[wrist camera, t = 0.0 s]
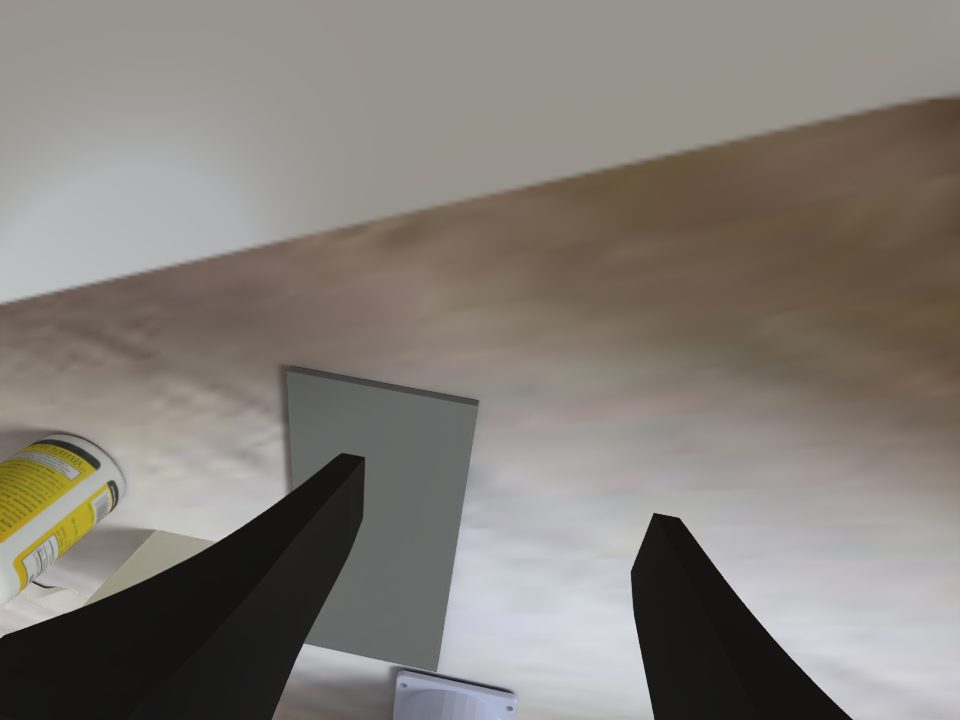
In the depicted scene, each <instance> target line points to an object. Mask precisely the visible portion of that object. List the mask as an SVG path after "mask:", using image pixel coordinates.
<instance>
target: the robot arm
mask: <svg viewBox="0 0 960 720" xmlns="http://www.w3.org/2000/svg"><path fill="white" fill-rule="evenodd" d="M364 482H365V457H362V456H357V455H352V454H347V453H341V454H339V455H338V456H336V457H335V458H334V459H333V460H331V461H330V462H329V463H328V464H326V465H325V466H324V467H323V468H321V469H320V470H319V471H318V472H316V473H315V474H314V475H313V476H311V477H310V478H309V479H308V480H306V481H305V482H304V483H303V484H301V485H300V486H299V487H297V488H296V489H295V490H293V491H292V492H291V493H289V494H288V495H287V496H285V497H284V498H283V499H281V500H280V501H279V502H277V503H276V504H275V505H273V506H272V507H270V508H269V509H268V510H266V511H265V512H263V513H262V514H260V515H259V516H257V517H256V518H254V519H253V520H251V521H250V522H248V523H247V524H246V525H244V526H243V527H241V528H240V529H238V530H236V531H235V532H233V533H232V534H230V535H228V536H227V537H225V538H223V539H222V540H220V541H219V542H217V543H215V544H213V545H212V546H210V547H208V548H206V549H205V550H203V551H201V552H200V553H198V554H196V555H194V556H192V557H190V558H188V559H186V560H184V561H182V562H180V563H178V564H177V565H175V566H173V567H171V568H169V569H167V570H165V571H163V572H161V573H159V574H157V575H155V576H153V577H151V578H149V579H146V580H144V581H142V582H140V583H138V584H135V585H133V586H131V587H129V588H127V589H124V590H122V591H120V592H118V593H115V594H113V595H110V596H108V597H106V598H103V599H101V600H98V601H96V602H94V603H91V604H89V605H86V606H84V607H81V608H79V609H76V610H73V611H71V612H68V613H65V614H63V615H60V616H57V617H54V618H52V619H49V620H46V621H43V622H41V623H38V624H35V625H32V626H29V627H27V628H24V629H21V630H18V631H15V632H12V633H9V634H7V635H4V636H3V637H2V638H0V720H272V717H273V715H274V712H275V709H276V707H277V704H278V702H279V700H280V697H281V695H282V692H283V690H284V687H285V685H286V683H287V680H288V678H289V675H290V673H291V670H292V668H293V666H294V663H295V661H296V658H297V656H298V654H299V652H300V650H301V648H302V646H303V644H304V642H305V639H306V638H307V636H308V634H309V632H310V630H311V628H312V626H313V624H314V622H315V620H316V618H317V616H318V615H319V613H320V611H321V609H322V607H323V605H324V603H325V601H326V599H327V597H328V595H329V593H330V592H331V590H332V588H333V586H334V584H335V582H336V580H337V578H338V576H339V574H340V572H341V570H342V568H343V566H344V564H345V562H346V560H347V558H348V556H349V554H350V552H351V549H352V547H353V544H354V541H355V539H356V536H357V533H358V531H359V528H360V525H361V523H362V520H363V509H364ZM631 583H632V598H633V610H634V617H635V623H636V628H637V633H638V639H639V644H640V649H641V654H642V659H643V664H644V669H645V674H646V679H647V684H648V689H649V694H650V699H651V704H652V709H653V714H654V720H853V719H852V718H850V717H849V716H848V715H847V714H846V713H845V712H844V711H843V710H842V709H841V708H840V707H839V706H838V705H837V704H836V703H835V702H833V701H832V700H831V699H830V698H829V697H828V696H827V695H826V694H825V693H824V692H823V691H822V690H821V689H820V688H819V687H818V686H817V685H816V684H815V683H814V682H813V681H812V679H811V678H810V677H809V676H808V675H807V674H806V673H805V672H804V671H803V670H802V669H801V668H800V667H799V666H798V665H797V664H796V663H795V662H794V661H793V660H792V659H791V658H790V656H789V655H788V654H787V653H786V652H785V651H784V650H783V649H782V648H781V647H780V645H779V644H778V643H777V642H776V641H775V640H774V639H773V638H772V636H771V635H770V634H769V633H768V632H767V631H766V629H765V628H764V627H763V626H762V625H761V623H760V622H759V621H758V620H757V619H756V618H755V616H754V615H753V614H752V613H751V612H750V610H749V609H748V608H747V607H746V605H745V604H744V603H743V602H742V601H741V599H740V598H739V597H738V596H737V594H736V593H735V592H734V590H733V589H732V588H731V587H730V585H729V584H728V583H727V581H726V580H725V579H724V578H723V576H722V575H721V574H720V572H719V571H718V570H717V568H716V567H715V566H714V564H713V563H712V562H711V560H710V559H709V557H708V556H707V555H706V553H705V552H704V551H703V549H702V548H701V547H700V545H699V544H698V542H697V541H696V540H695V538H694V537H693V536H692V534H691V533H690V532H689V530H688V529H687V527H686V526H685V525H684V523H683V522H682V521H681V519H680V518H677V517H672V516H667V515H662V514H657V513H654V514H653V516H652V519H651V521H650V524H649V527H648V529H647V532H646V534H645V537H644V539H643V542H642V544H641V547H640V550H639V552H638V555H637V557H636V560H635V562H634V565H633V567H632V570H631ZM517 707H518V697H517V696H516V695H514V694H511V693H507V692H502V691H497V690H493V689H488V688H484V687H479V686H474V685H470V684H465V683H460V682H456V681H451V680H447V679H442V678H437V677H433V676H428V675H424V674H419V673H414V672H410V671H404V670H403V671H400V672H398V675H397V679H396V689H395V700H394V710H393V720H514V717H515V714H516V710H517Z"/></svg>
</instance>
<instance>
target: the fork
mask: <svg viewBox="0 0 960 720" xmlns="http://www.w3.org/2000/svg"><path fill="white" fill-rule="evenodd" d="M18 595H19V596H21V597H22V598H24V599H26V600H28V601H30V602H32V603H34V604H36V605H39V606H42V607H44V608H47V609H51V610H54V611H58V612H62V613H68V612H71V611H73V610H76V609H79V608H81V607H82V606H83V605H84V604H85V603H86V602H87V601H88V600H89V599H90V597H88V596H85V595H83V596H80V595H79V594H78V593H77V592H76V591H74V590H72V589H69V588H65V587H54V588H42V587H40V586H38V585H36V584H34V583H32V582H31V583H30V584H29V585H28V586H27V587H26V588H24V589H23V590H22V591H21V592H20V593H19V594H18Z"/></svg>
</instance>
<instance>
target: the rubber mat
mask: <svg viewBox="0 0 960 720" xmlns="http://www.w3.org/2000/svg"><path fill="white" fill-rule="evenodd" d="M286 372H287V393H288V413H289V433H290V453H291V473H292V491H293V490H295V489H296V488H297V487H299V486H300V485H301V484H303V483H304V482H305V481H306V480H308V479H309V478H310V477H311V476H313V475H314V474H315V473H316V472H318V471H319V470H320V469H321V468H323V467H324V466H325V465H326V464H328V463H329V462H330V461H331V460H333V459H334V458H335V457H336V456H338V455H339V454H341V453H347V454H352V455H357V456H362V457H365V482H364V509H363V520H362V523H361V525H360V528H359V531H358V533H357V536H356V539H355V541H354V544H353V547H352V549H351V552H350V554H349V556H348V558H347V560H346V562H345V564H344V566H343V568H342V570H341V572H340V574H339V576H338V578H337V580H336V582H335V584H334V586H333V588H332V590H331V592H330V593H329V595H328V597H327V599H326V601H325V603H324V605H323V607H322V609H321V611H320V613H319V615H318V616H317V618H316V620H315V622H314V624H313V626H312V628H311V630H310V632H309V634H308V636H307V638H306V639H305V642H304V644H309V645H314V646H318V647H323V648H327V649H332V650H337V651H341V652H346V653H351V654H355V655H360V656H364V657H369V658H374V659H378V660H383V661H388V662H392V663H397V664H401V665H406V666H411V667H415V668H420V669H425V670H429V671H434V672H437V667H438V662H439V655H440V649H441V642H442V636H443V629H444V623H445V617H446V610H447V604H448V597H449V591H450V584H451V578H452V572H453V565H454V559H455V552H456V546H457V539H458V533H459V527H460V520H461V514H462V507H463V501H464V494H465V488H466V482H467V475H468V469H469V462H470V456H471V449H472V443H473V436H474V430H475V424H476V417H477V411H478V404H479V401H478V400H472V399H467V398H462V397H456V396H451V395H445V394H440V393H434V392H429V391H423V390H418V389H412V388H407V387H402V386H396V385H391V384H385V383H380V382H374V381H369V380H363V379H358V378H353V377H347V376H342V375H336V374H331V373H325V372H320V371H314V370H309V369H304V368H298V367H293V366H291V367H290V368H289V369H288V370H287V371H286Z"/></svg>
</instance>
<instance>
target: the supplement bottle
mask: <svg viewBox="0 0 960 720" xmlns="http://www.w3.org/2000/svg"><path fill="white" fill-rule="evenodd" d="M124 492H125V483H124V479H123V476H122V474H121V472H120V470H119V469H118V467H117V466H116V464H115V463H114V462H113V461H112V459H111V458H110V457H109V456H108V455H107V454H105V453H104V452H103V451H102V450H101V449H99V448H98V447H96V446H95V445H93V444H92V443H90V442H88V441H86V440H84V439H81V438H78V437H74V436H70V435H51V436H48V437H45V438H43V439H41V440H39V441H37V442H35V443H33V444H32V445H30V446H28V447H27V448H25V449H23V450H22V451H20V452H19V453H17V454H15V455H14V456H12V457H11V458H9V459H8V460H6V461H4V462H3V463H1V464H0V608H1V607H2V606H4V605H5V604H7V603H8V602H9V601H10V600H12V599H13V598H14V597H15V596H16V595H18V594H19V593H20V592H21V591H22V590H23V589H24V588H26V587H27V586H28V585H29V584H30V583H31V582H32V581H33V580H34V579H35V578H37V577H38V576H39V575H40V574H41V573H42V572H43V571H44V570H46V569H47V568H48V567H49V566H50V565H51V564H52V563H54V562H55V561H56V560H57V559H58V558H59V557H60V556H61V555H63V554H64V553H65V552H66V551H67V550H68V549H69V548H70V547H72V546H73V545H74V544H75V543H76V542H77V541H78V540H79V539H81V538H82V537H83V536H84V535H85V534H86V533H87V532H88V531H90V530H91V529H92V528H93V527H94V526H95V525H96V524H97V523H99V522H100V521H101V520H102V519H103V518H104V517H105V516H106V515H107V514H109V513H110V512H111V511H112V510H113V509H114V508H115V507H116V506H117V505H118V504H119V503H120V502H121V500H122V498H123V496H124Z"/></svg>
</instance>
